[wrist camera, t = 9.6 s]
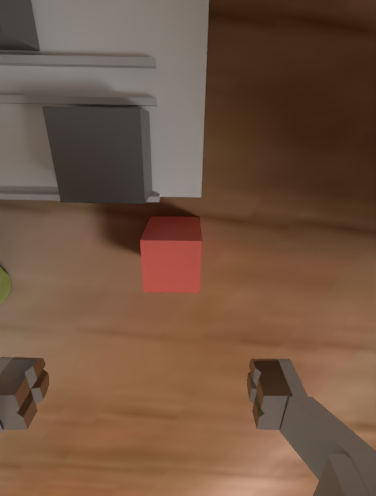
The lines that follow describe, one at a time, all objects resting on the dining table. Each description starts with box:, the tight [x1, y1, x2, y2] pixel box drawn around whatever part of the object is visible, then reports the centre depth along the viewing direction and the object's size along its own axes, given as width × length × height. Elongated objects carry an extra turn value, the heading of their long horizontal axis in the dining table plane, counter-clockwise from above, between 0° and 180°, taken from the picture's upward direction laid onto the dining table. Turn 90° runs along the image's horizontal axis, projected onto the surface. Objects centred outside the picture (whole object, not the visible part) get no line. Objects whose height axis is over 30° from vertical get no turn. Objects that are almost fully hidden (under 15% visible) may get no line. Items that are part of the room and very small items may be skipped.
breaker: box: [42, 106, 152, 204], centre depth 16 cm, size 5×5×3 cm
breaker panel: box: [0, 0, 209, 202], centre depth 16 cm, size 20×14×2 cm
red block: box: [140, 216, 202, 293], centre depth 20 cm, size 4×4×5 cm
